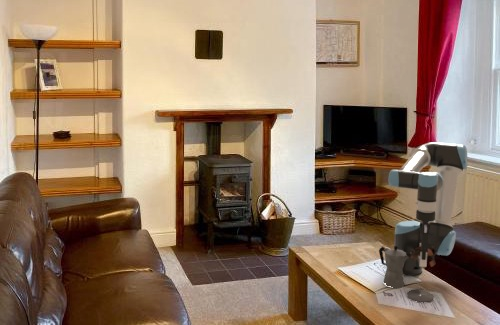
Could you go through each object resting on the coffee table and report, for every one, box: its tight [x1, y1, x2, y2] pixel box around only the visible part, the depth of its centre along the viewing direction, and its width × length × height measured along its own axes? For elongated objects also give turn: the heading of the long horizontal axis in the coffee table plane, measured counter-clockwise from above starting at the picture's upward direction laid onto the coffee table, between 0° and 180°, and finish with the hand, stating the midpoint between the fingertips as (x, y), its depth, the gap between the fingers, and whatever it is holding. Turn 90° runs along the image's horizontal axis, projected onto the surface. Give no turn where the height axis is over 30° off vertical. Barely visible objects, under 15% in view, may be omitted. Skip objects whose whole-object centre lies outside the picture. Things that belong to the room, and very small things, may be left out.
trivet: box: [406, 288, 435, 304], centre depth 230 cm, size 11×11×1 cm
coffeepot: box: [378, 245, 408, 289], centre depth 242 cm, size 15×9×18 cm, turn 39°
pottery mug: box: [410, 246, 437, 268], centre depth 228 cm, size 12×10×8 cm
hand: (422, 262), depth 227 cm, fingers closed on pottery mug, 9 cm apart
